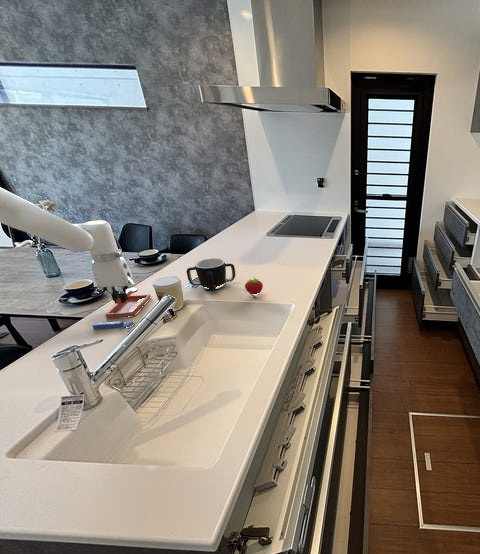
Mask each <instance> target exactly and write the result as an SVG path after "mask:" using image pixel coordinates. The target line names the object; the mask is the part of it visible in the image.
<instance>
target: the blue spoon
mask: <svg viewBox="0 0 480 554" xmlns="http://www.w3.org/2000/svg"><path fill="white" fill-rule="evenodd" d="M133 324H135V321H126V322H124V321H123V320H122V321H121V320H119V321H107V322H94V323H93V324H92V325H91V326H92V329H93V330H95V331H97V330H108V329H119V328H118V327H122V329H123V328H126V327H130V326H132V325H133Z"/></svg>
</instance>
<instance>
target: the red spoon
mask: <svg viewBox="0 0 480 554" xmlns="http://www.w3.org/2000/svg"><path fill="white" fill-rule="evenodd" d="M138 291H139V289H138V288H137V287H131V288H128V289H127V290H126V293H127V296H128V297H129V296H131V295H133V294H134V293H137V292H138ZM116 302H117V304H122V302H121V299H120V297H118V298H117V299H116Z"/></svg>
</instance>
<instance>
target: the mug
mask: <svg viewBox="0 0 480 554" xmlns="http://www.w3.org/2000/svg"><path fill="white" fill-rule="evenodd" d="M228 267H230V268H231V277H230V278H227V269H226V268H228ZM191 271H195V273H196V276H197V278H198V281H197V282H196V281H195V280H193V278H192V274H191V273H192V272H191ZM186 276H187V280H188V282H189V283H190V284H191V285H192V286H196V287H197V286H201V287H202V286H203V287H207V288H209V289H210V290H209V291H215V290H214V289H215V288H216V287H217V286H220V285H222V284H224V283H225V284H226V283H229V281H230V282H233V281H234V280H235V278H236V267H235V265H234V264H233V263H226V261H225V260H224V259H222V258H205V259H202V260H199V261H197V262H195V264H194V266H192V267H188V268H187V269H186ZM203 287H202V288H203Z"/></svg>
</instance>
